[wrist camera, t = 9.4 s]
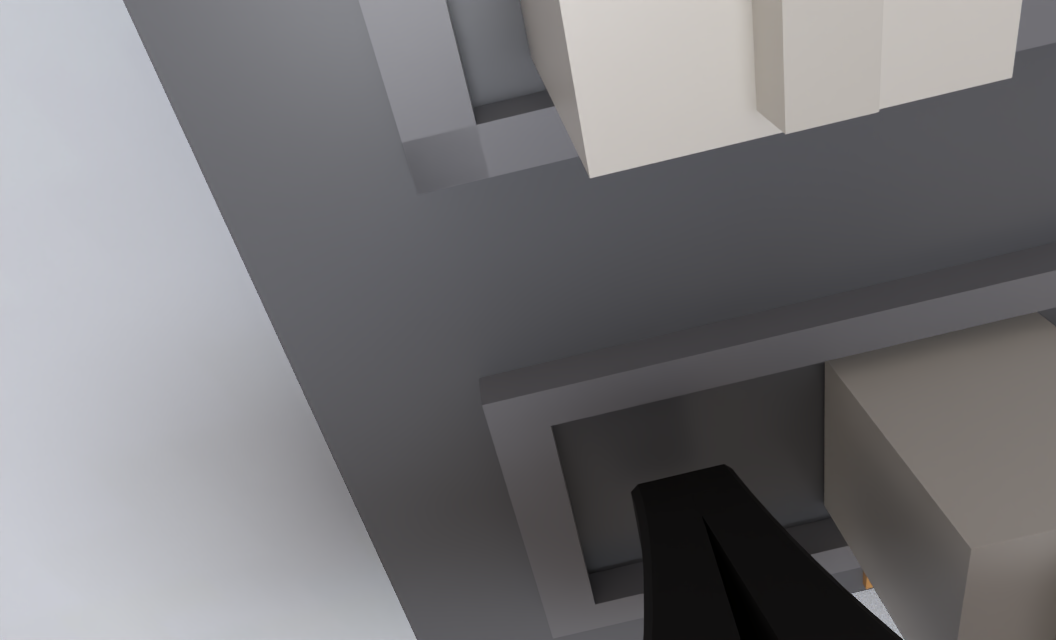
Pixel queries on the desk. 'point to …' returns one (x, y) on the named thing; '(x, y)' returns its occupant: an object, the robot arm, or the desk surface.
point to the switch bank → (580, 284)
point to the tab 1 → (750, 66)
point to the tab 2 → (951, 478)
